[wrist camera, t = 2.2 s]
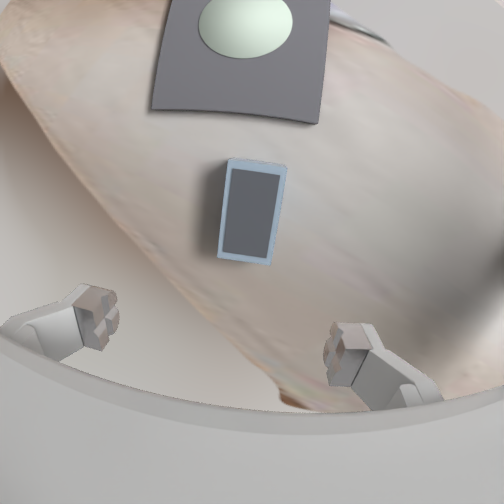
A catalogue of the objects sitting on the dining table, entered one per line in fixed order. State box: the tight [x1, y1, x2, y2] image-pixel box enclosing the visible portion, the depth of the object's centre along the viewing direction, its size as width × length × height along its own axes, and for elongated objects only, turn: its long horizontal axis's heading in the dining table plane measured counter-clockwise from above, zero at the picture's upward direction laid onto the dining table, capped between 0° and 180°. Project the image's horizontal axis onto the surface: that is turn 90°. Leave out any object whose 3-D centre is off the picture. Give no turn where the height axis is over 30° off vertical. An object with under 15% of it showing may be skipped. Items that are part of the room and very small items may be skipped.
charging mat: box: [151, 0, 331, 124], centre depth 20 cm, size 16×20×1 cm
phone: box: [217, 158, 287, 265], centre depth 26 cm, size 5×9×4 cm, turn 172°
